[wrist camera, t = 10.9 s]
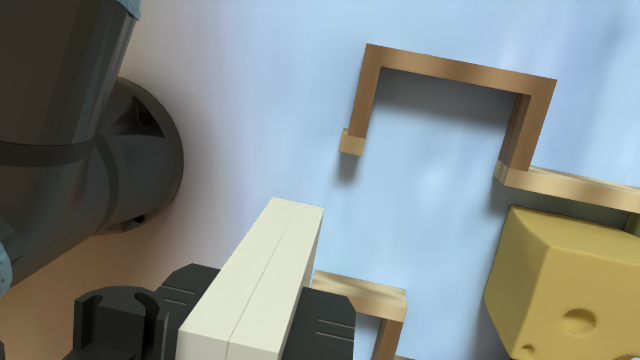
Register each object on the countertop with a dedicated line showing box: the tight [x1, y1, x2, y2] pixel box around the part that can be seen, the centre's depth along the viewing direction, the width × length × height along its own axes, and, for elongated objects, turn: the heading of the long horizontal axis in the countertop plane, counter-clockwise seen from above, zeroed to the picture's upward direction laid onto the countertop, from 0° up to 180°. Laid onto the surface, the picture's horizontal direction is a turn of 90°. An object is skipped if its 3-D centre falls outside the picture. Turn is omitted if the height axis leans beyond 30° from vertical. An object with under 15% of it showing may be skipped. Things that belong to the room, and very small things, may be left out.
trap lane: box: [311, 43, 640, 360], centre depth 41 cm, size 28×31×4 cm
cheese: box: [483, 205, 640, 360], centre depth 38 cm, size 10×11×10 cm
